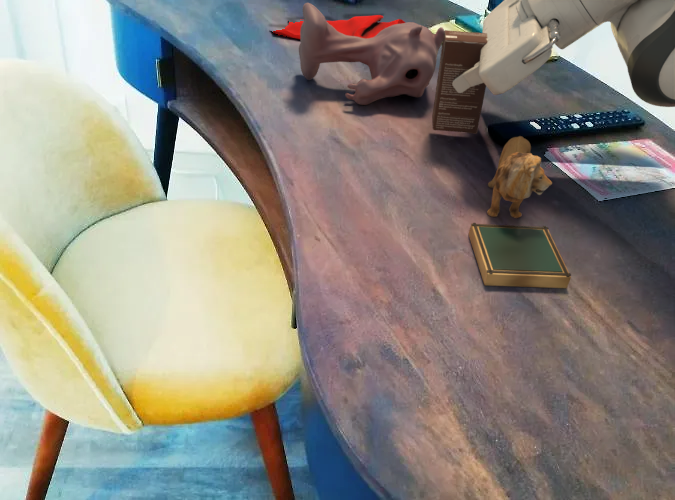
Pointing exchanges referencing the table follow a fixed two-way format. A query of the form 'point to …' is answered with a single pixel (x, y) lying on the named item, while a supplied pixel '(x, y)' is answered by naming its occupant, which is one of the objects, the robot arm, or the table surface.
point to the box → (449, 104)
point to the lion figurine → (517, 176)
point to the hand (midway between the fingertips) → (456, 77)
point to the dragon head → (372, 56)
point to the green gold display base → (518, 256)
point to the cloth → (346, 27)
